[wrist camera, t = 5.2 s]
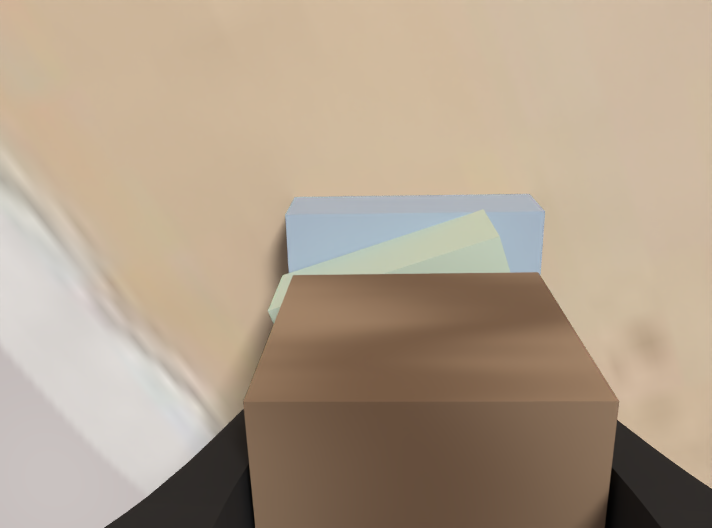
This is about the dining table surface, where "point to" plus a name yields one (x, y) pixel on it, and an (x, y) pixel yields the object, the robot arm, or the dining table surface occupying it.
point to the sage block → (418, 254)
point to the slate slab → (407, 224)
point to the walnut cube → (427, 407)
